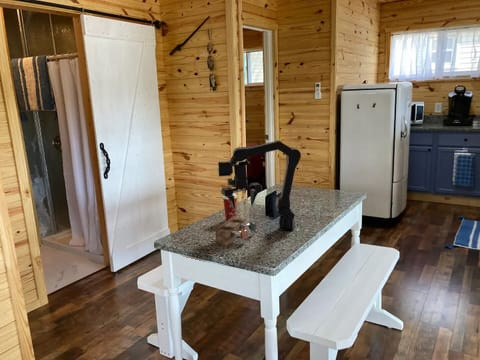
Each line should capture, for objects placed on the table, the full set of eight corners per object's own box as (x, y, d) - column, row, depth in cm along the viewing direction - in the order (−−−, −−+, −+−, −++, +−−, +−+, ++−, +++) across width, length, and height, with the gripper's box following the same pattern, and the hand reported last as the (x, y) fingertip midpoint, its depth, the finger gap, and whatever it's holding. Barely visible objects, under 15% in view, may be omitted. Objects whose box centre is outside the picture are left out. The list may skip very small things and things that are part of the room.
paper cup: (233, 223, 203) (231, 197, 200) (221, 221, 207) (219, 195, 204) (241, 218, 209) (240, 193, 206) (229, 217, 213) (227, 192, 210)
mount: (245, 229, 193) (245, 217, 192) (228, 245, 175) (227, 231, 174) (234, 228, 195) (234, 216, 194) (216, 243, 178) (215, 230, 176)
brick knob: (248, 237, 178) (248, 228, 177) (245, 240, 175) (244, 231, 174) (232, 235, 181) (232, 227, 181) (228, 238, 178) (228, 230, 177)
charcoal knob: (256, 229, 187) (256, 221, 186) (253, 232, 184) (253, 224, 183) (241, 227, 190) (240, 219, 189) (237, 230, 187) (237, 222, 186)
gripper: (252, 169, 194) (254, 199, 198) (216, 174, 188) (219, 205, 192) (261, 173, 184) (263, 205, 188) (224, 179, 178) (226, 211, 182)
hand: (242, 206), depth 188 cm, fingers open, 9 cm apart
